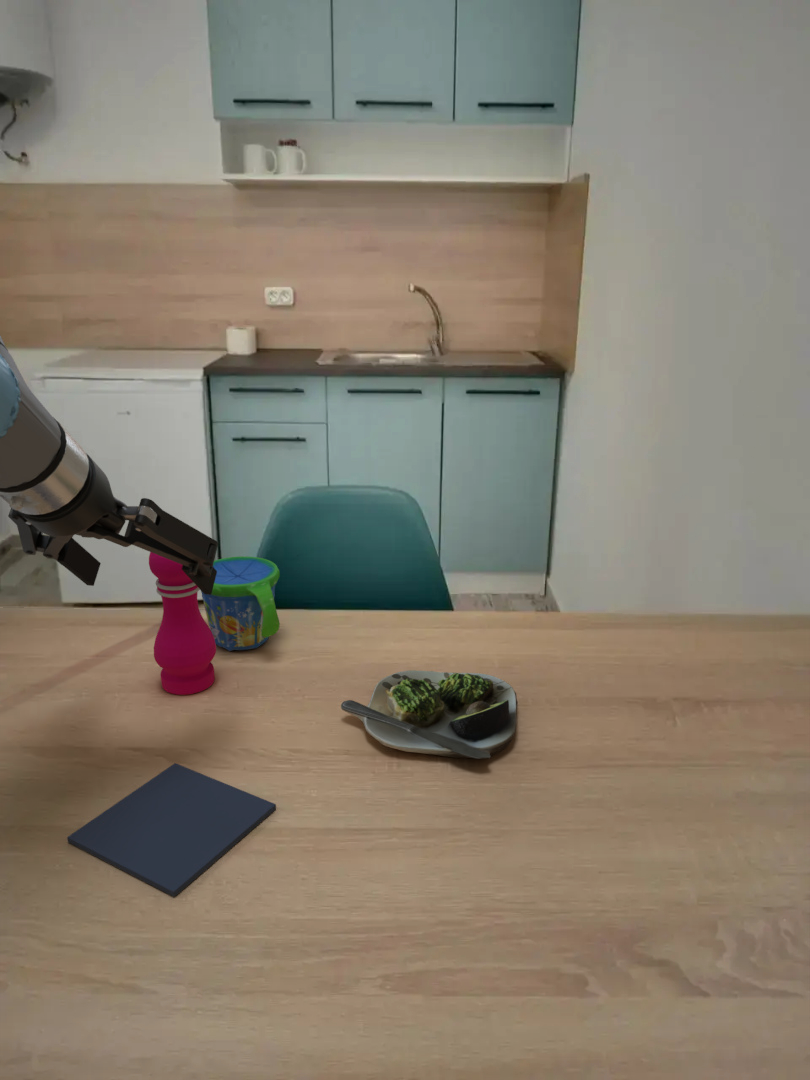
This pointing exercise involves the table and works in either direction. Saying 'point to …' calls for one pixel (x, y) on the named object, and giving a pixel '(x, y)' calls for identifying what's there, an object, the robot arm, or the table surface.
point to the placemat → (172, 827)
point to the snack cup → (242, 602)
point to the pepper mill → (181, 632)
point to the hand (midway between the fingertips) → (151, 578)
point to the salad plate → (440, 713)
